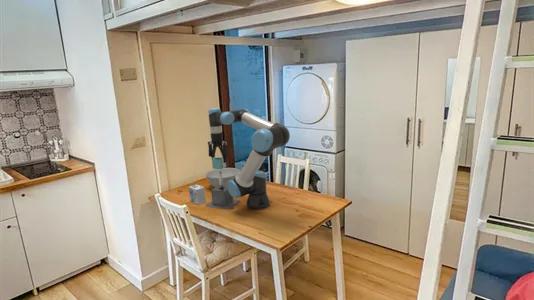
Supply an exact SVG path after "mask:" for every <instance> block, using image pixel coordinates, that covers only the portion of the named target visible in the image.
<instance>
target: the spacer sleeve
mask: <svg viewBox="0 0 534 300" xmlns="http://www.w3.org/2000/svg"><path fill="white" fill-rule="evenodd" d="M222 158H223V157H220V156H218V157H217V156H216V158H215V159H212V158H211V164H212V170H215V169H223V165H222ZM225 168H228V166H227V164H226V167H225Z"/></svg>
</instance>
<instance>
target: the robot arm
mask: <svg viewBox="0 0 534 300" xmlns="http://www.w3.org/2000/svg"><path fill="white" fill-rule="evenodd" d="M208 122H209V131H210V139H211V140H210V141H207V146H208V157H210V158H211V160H212V159H215V158H217V156H216V152H217V148H218V149H219V151H220V153H221V156H222V157H221V158H222V165H223V168H227V167H226V165H227V158H228V157H229V155H230V154H229V150H228V141H224V139H223V137H224V135H223V126H222V125H226V126H227V125H232V124H235V123H242V124H244V125H246V126H248V127H250V128H252V129H255V130H256V131H255V132H254V133H253V134H252V136H251V146H252V147H251V148H252V150H251V152H250V153H249V156H248V157H247V159H246V161H245V163H244V165H243V167H242V168H241V169H240V171H241V172H239V173H237V174H236V176H235V177H234V179H232V180H229V181H228V183H227V187H228V191H229V193H230V195H231V196H232V197H233V199H238V198H241V197H244V196H246V195H248V196H247V200H246V207H247V208H248V209H250V210H257V211H258V210H264V209H266V208H268V207H270V206H271V201H270V199H269V196H268V193H267V178H266V172H265V171H262V170H259V169H260V168H261V166H262V164H263V163H264V161H265V159H266V158H268V157H270V156H271V155H272V153H273V152H274V150H275V149H278V148H282V147H284V146H286V144H288V143H289V140H290V137H291V135H290V131H289V129H288V128H287V127H286V126H285V125H283V124H281V123H278V122H271V121H270V120H266V119H264V118H262V117H259V116H257V115H254V114H252V113H251V112H250V111H249V110H248V109H247V108H241V109H236V110H229V111H221V108H219V107H213V108H209V109H208Z"/></svg>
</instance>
